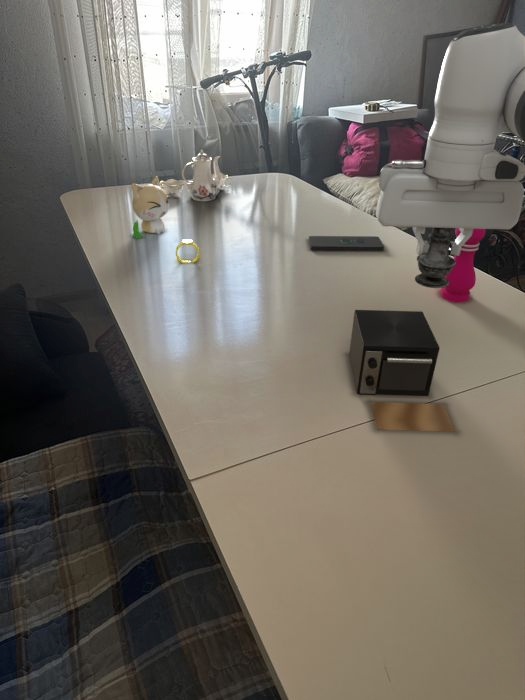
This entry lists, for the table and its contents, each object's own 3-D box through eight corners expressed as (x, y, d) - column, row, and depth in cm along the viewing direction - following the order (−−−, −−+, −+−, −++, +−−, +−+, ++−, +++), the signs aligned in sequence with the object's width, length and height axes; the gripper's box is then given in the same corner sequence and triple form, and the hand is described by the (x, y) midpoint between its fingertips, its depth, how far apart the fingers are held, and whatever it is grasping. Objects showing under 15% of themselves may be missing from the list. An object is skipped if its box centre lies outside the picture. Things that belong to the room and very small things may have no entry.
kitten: (148, 243, 144) (141, 189, 136) (122, 236, 148) (114, 183, 140) (182, 228, 155) (178, 177, 147) (156, 221, 159) (151, 172, 151)
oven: (412, 358, 96) (422, 311, 91) (430, 404, 85) (442, 353, 79) (348, 356, 97) (354, 309, 91) (357, 401, 85) (365, 351, 80)
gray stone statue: (405, 277, 83) (418, 203, 76) (433, 270, 85) (447, 198, 79) (430, 291, 78) (446, 214, 72) (459, 284, 81) (477, 209, 74)
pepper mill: (437, 301, 116) (456, 214, 105) (438, 288, 122) (457, 204, 111) (470, 306, 114) (493, 219, 103) (470, 293, 120) (492, 208, 109)
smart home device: (384, 246, 139) (311, 246, 139) (383, 252, 140) (310, 252, 140) (378, 235, 146) (308, 235, 146) (377, 241, 147) (308, 241, 147)
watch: (176, 265, 131) (174, 243, 128) (176, 261, 133) (174, 239, 130) (200, 264, 132) (198, 242, 129) (199, 260, 134) (198, 238, 131)
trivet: (443, 406, 84) (443, 404, 84) (454, 433, 79) (455, 431, 79) (370, 404, 85) (370, 401, 84) (376, 431, 79) (376, 428, 79)
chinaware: (219, 189, 196) (214, 142, 188) (246, 194, 184) (242, 145, 176) (154, 202, 180) (147, 152, 173) (179, 209, 169) (172, 156, 161)
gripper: (385, 164, 69) (372, 260, 77) (539, 167, 69) (510, 263, 76) (378, 154, 75) (367, 244, 82) (521, 157, 74) (496, 248, 81)
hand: (437, 253), depth 79 cm, fingers closed on gray stone statue, 3 cm apart
